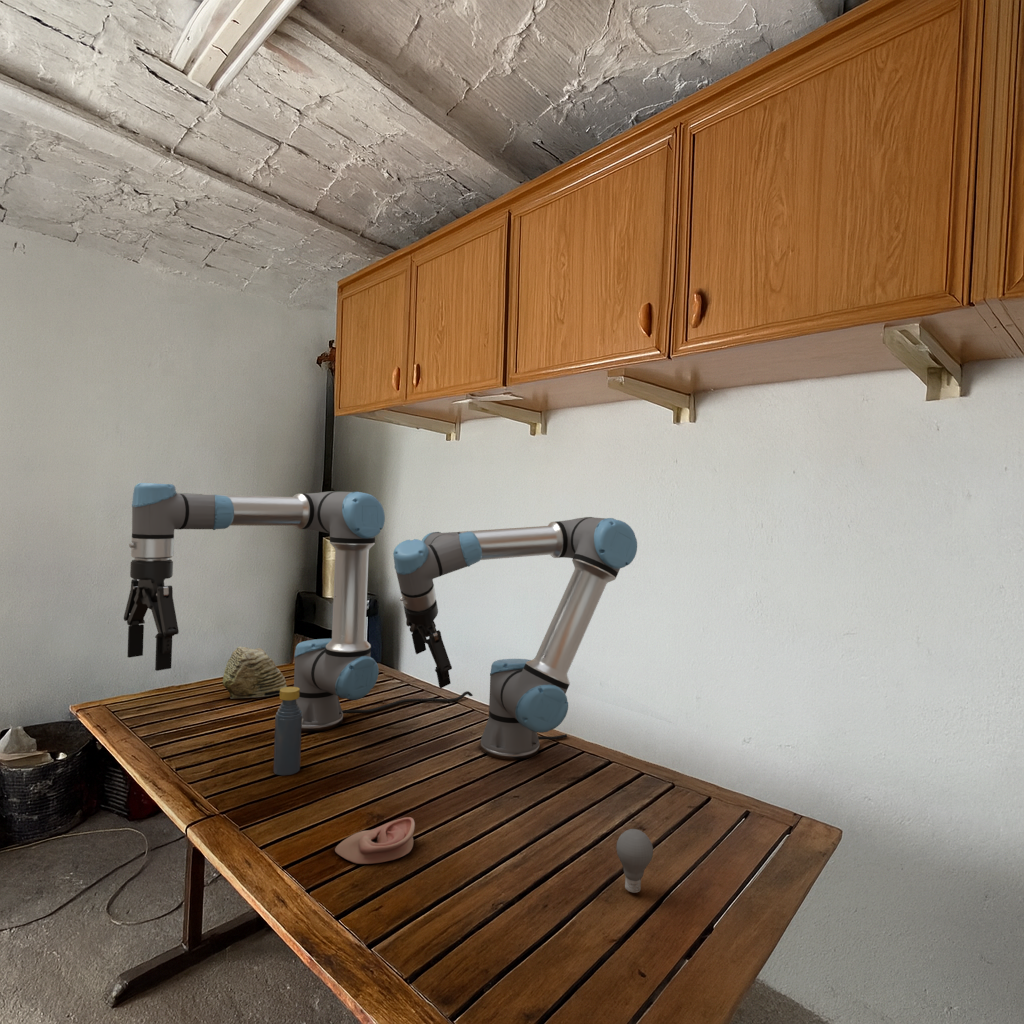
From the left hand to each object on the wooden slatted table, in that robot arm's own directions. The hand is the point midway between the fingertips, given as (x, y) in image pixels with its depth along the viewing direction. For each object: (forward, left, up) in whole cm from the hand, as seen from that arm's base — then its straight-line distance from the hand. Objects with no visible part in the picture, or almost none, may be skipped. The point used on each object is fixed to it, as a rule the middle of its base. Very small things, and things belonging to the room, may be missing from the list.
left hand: (148, 662), depth 129 cm
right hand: (-55, +26, -6) cm, 61 cm away
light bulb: (-41, +90, -28) cm, 103 cm away
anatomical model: (-20, +49, -28) cm, 60 cm away
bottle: (-27, +8, -28) cm, 40 cm away
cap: (-27, +8, -10) cm, 30 cm away
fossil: (-50, -47, -28) cm, 74 cm away
